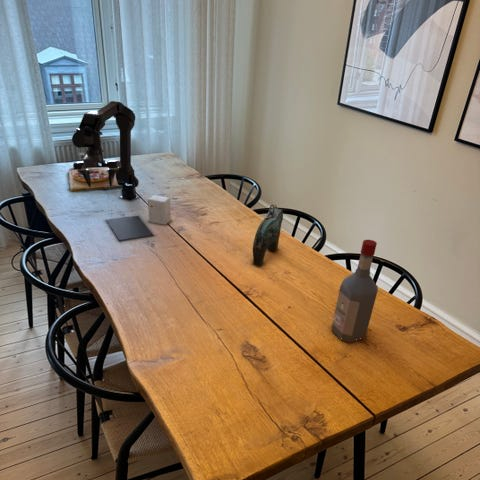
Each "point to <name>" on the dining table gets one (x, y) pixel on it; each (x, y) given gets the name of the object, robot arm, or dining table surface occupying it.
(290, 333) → the dining table surface
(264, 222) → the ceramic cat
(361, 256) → the liquor
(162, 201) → the small box
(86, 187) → the pizza
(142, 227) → the placemat
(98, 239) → the dining table surface
